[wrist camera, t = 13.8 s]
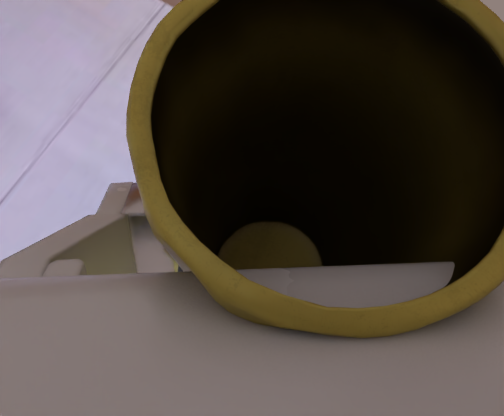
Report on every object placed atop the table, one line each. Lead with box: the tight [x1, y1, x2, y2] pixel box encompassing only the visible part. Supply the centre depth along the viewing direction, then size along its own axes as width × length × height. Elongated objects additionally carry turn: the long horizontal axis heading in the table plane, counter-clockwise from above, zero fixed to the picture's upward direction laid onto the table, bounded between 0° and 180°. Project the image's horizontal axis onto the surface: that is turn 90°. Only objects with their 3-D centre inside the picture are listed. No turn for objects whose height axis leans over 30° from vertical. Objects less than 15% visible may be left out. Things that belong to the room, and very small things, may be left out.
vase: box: [126, 0, 504, 338], centre depth 13 cm, size 6×6×14 cm
